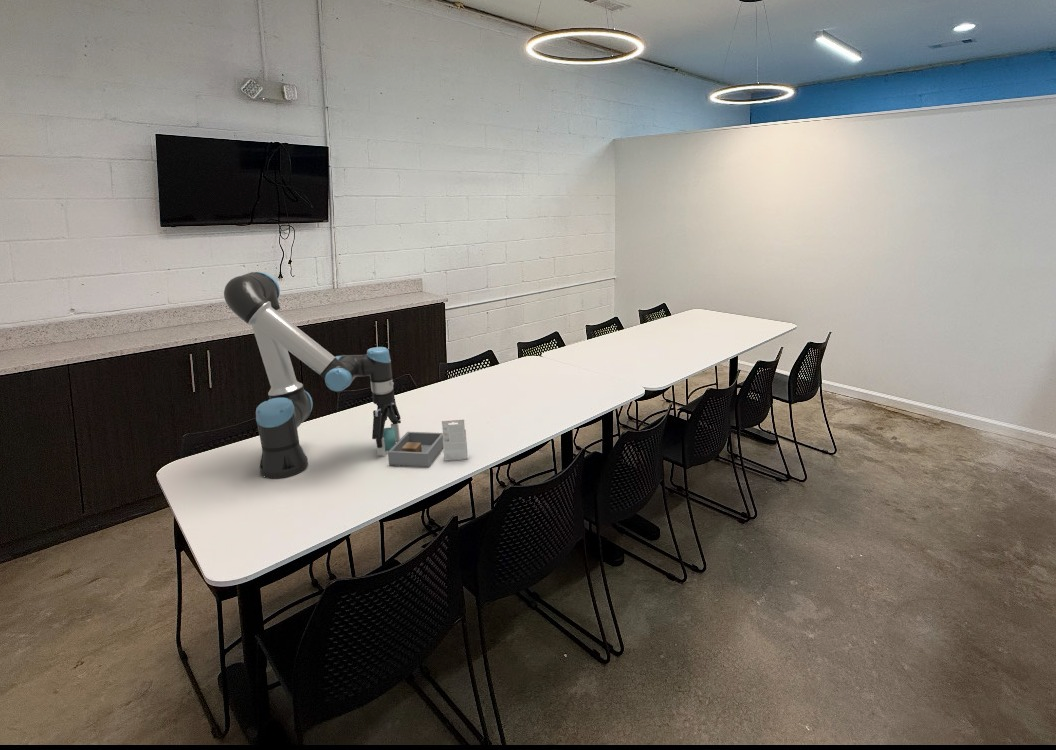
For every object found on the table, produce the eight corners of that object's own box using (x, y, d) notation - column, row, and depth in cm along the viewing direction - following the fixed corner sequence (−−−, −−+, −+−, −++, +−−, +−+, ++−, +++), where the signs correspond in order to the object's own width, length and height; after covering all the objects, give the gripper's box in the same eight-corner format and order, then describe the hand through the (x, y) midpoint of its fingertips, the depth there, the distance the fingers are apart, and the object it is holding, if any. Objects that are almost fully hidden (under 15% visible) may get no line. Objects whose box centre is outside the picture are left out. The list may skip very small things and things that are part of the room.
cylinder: (379, 450, 210) (377, 432, 208) (385, 445, 214) (383, 427, 212) (392, 451, 209) (390, 433, 207) (398, 445, 214) (396, 427, 212)
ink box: (444, 457, 203) (441, 417, 198) (467, 455, 203) (464, 415, 199) (444, 461, 199) (440, 421, 195) (467, 459, 200) (464, 419, 196)
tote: (389, 465, 197) (387, 452, 196) (408, 444, 214) (407, 431, 213) (428, 467, 195) (427, 453, 194) (445, 445, 212) (444, 433, 210)
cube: (403, 461, 199) (401, 448, 197) (408, 455, 203) (407, 442, 202) (417, 462, 198) (415, 448, 196) (422, 456, 203) (421, 442, 201)
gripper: (378, 403, 193) (385, 462, 199) (405, 381, 216) (411, 434, 222) (357, 402, 195) (364, 461, 201) (386, 380, 218) (392, 434, 224)
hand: (389, 447), depth 212 cm, fingers open, 12 cm apart
